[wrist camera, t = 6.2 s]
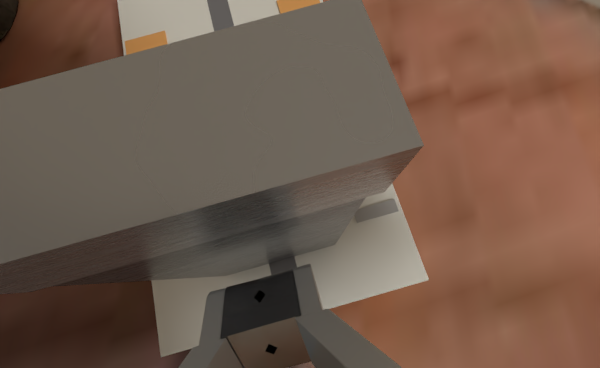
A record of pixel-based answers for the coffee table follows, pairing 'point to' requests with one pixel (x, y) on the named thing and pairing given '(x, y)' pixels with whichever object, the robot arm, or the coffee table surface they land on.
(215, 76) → the fader tab
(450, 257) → the coffee table surface
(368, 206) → the board
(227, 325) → the robot arm
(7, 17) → the pillar candle
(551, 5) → the coffee table surface
